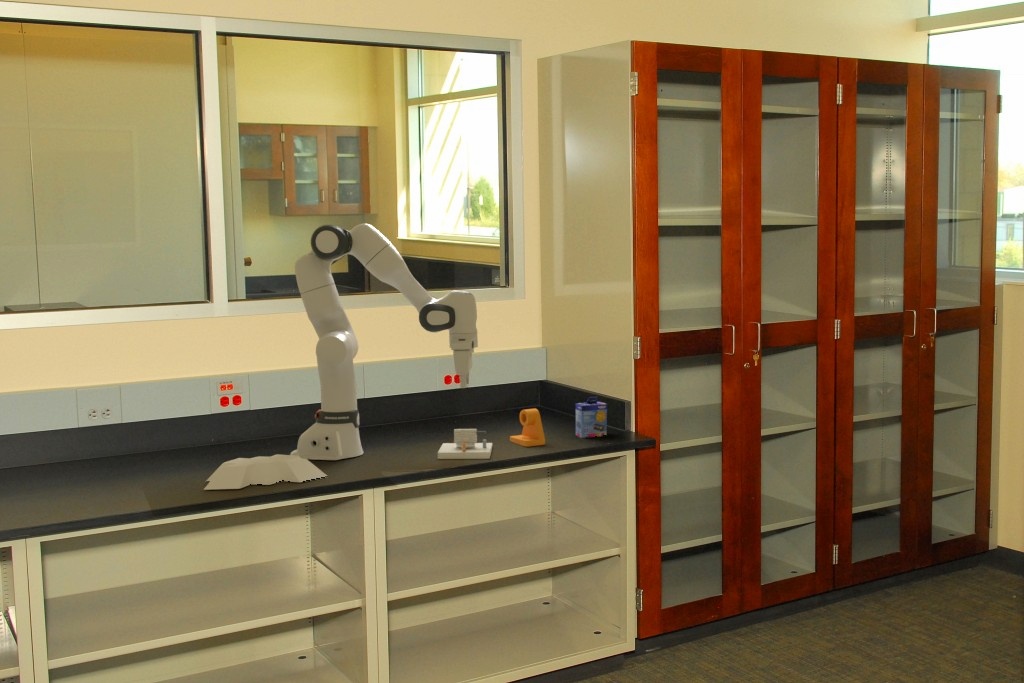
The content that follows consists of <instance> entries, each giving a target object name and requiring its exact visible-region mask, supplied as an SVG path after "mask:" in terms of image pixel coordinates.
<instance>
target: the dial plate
mask: <svg viewBox="0 0 1024 683" xmlns="http://www.w3.org/2000/svg"><path fill="white" fill-rule="evenodd" d="M492 449H493V442H487V439H485V438H484V439H482V442H476V443H475V447H474V448H466V443H462V448H457V447H456V443H454V442H452V443H450V442H446V443H445V442H443V443H442V445H440V448H439V450H437V460H475V459H477V460H485V459H487V460H489V459H490V458H491V453H492Z"/></svg>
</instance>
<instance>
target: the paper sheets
mask: <svg viewBox="0 0 1024 683" xmlns="http://www.w3.org/2000/svg"><path fill="white" fill-rule="evenodd" d="M325 476H328V474H326V473H324V471H322V470H321V469H320V468H319V467H317V466H316V465H315V464H314V463H312V462H311V461H309V459H301V458H300V457H299V456H296V455H290V454H277V453H276V454H274V455H272V456H260V455H259V456H255V457H251V458H250V457H249V458H248V457H238V458H235V459H231V460H227V461H225V462H223V463H222V464H220V465H219V467H218V468H217V469H215V471H214V472H213V473H212V474H211V475H210V476H209V477H208V478H207V479H206V481H210V482H209V483H207V484H206V486H205V487H204V488H203V490H239V489H242V488H246V487H247V486H250V484H251V485H257V484H262V485H263V486H264V485H265V486H269V485H273V484H277V483H280V482H279V481H281V482H288V481H290V483H303V481H305V482H307V481H306V480H310V481H312V480H311V479H315V480H317V479H316V478H320V479H322V478H321V477H325ZM325 478H326V477H325ZM282 480H284V481H282ZM276 482H277V483H276Z"/></svg>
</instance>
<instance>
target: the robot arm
mask: <svg viewBox="0 0 1024 683" xmlns="http://www.w3.org/2000/svg"><path fill="white" fill-rule="evenodd" d="M310 246H311V251H310V252H309V253H307V254H304V255H302V256H300V257H299V258H298V259H297V260H296V262H295V264H294V273H295V279H296V283H297V284H296V285H297V287H298V290H299V294H300V297H301V301H302V303H303V305H304V309H305V312H306V315H307V317H308V320H309V321H310V323H311V325H312V326H313V329H314V331H315V333H316V335H317V337H318V341H317V342H316V346H315V355H316V364H317V371H318V377H319V383H320V401H321V403H320V406H321V407H320V408H321V409H318V410H317V411H316V412H315V414H314V420H315V423H313V424H312V425H311V426H310V427H308V429H307V430H305V431H304V432H303V433H302V434H300V436H299V438H298V440H297V446H296V447H297V448H296V449H295V450H293V451H291V452H290V454H289V455H296V456H299V457H300V458H301V459H307V460H316V461H317V460H322V461H339V460H342V459H349V458H354V457H355V458H356V457H359V456H362V455H364V449H363V447H362V442H361V437H360V430H359V427H360V413H359V409H358V394H357V393H358V392H357V382H356V376H355V368H354V359H355V358H356V356H357V354H358V351H359V341H358V339H357V337H356V334H355V331H354V329H353V326H352V325H351V322H350V320H349V318H348V315H347V313H346V311H345V309H344V307H343V303H342V300H341V297H340V295H339V292H338V289H337V287H336V286H337V285H336V284H335V280H334V277H333V274H332V269H331V268H332V265H334V264H335V263H337V262H338V261H340V260H341V259H342V258H344V257H346V255H351V256H353V257H354V258H356V259H357V260H358V261H359V263H360V264H362V266H363V267H364V268H365V269H366V270H367V271H368V272H369V273H370V274H371V275H372V276H373V277H375V278H376V279H378V281H380V282H382V283H384V284H386V285H389V286H391V287H393V288H395V289H396V290H397V291H399V292H400V293H401V295H403V296H404V297H405V299H407V301H408V302H409V303H410V304H411V305H412V306H413V307H415V309H416V310H417V312H418V322H419V324H420V326H421V327H422V329H424V330H425V331H427V332H430V333H440V332H442V331H446V330H448V334H449V336H448V338H449V339H448V340H449V342H448V343H449V348H450V350H451V351H452V353H453V362H454V369H455V373H456V375H458V376H459V383H460V384H459V386H460V388H461V389H466V388H467V387H468V386H467V385H468V384H469V383H470V371H471V369H472V368H473V353H474V352H475V350H474V349H475V348H478V345H479V344H478V343H479V342H478V341H479V340H478V329H477V321H478V320H477V319H478V314H477V312H478V310H477V309H478V308H477V302H476V298H475V296H474V294H473V293H471V292H469V291H464V290H460V289H459V290H457V289H453V290H450V291H449V292H448V293H447V294H445V295H443V296H442V297H440V298H436V297H434V296H432V295H431V294H430V293H429V292H428V291H427V290H426V288H424V287H423V285H422V284H421V283H420V282H419V281H418V280H417V279H416V278H415V277H414V276H413V274H412V273H411V271H410V268H408V267H409V266H408V265H407V264H406V262H405V260H404V258H403V256H402V255H401V254H400V252H399V251H398V249H397V248H396V246H394V245H393V243H392V242H391V241H390V240H389V239H388V238H387V236H385V235H384V234H382V233H381V232H380V230H378V229H376V228H375V227H374V226H373V225H372V224H369V223H366V222H365V223H360V224H357V225H355V226H354V227H352V229H350V230H349V229H346V228H343V227H340V226H338V225H336V224H322V225H320V226H319V227H317V228H316V229H315V230H314V231H313V232H312V234H311V237H310Z"/></svg>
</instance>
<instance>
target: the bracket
mask: <svg viewBox="0 0 1024 683" xmlns="http://www.w3.org/2000/svg"><path fill="white" fill-rule="evenodd" d="M518 416H519V422H520V424H521V425H522V426H523V428H522V432H521V434H519V435H511V436H509V441H510V442H512V443H514V444H516V445H518V446H519V445H520V446H522V447H535V446H544V445H546V438H545V432H544V428H543V424H542V418H541V414H540V411H539V410H538V409H537V408H527V409H522V410H521V411H520V413H519V415H518Z"/></svg>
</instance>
